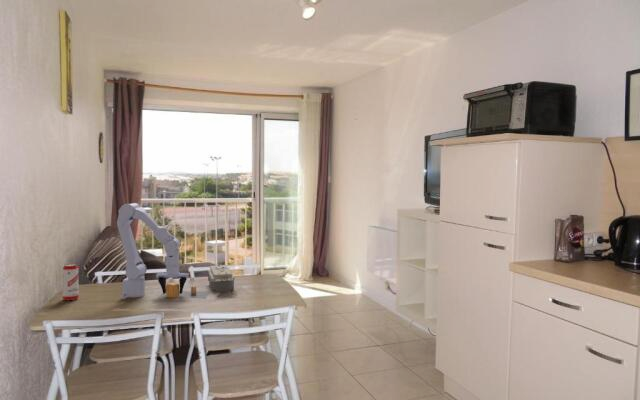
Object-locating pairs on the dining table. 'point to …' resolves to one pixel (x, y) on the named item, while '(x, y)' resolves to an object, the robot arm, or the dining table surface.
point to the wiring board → (188, 294)
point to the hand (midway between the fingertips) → (172, 293)
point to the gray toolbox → (221, 278)
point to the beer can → (70, 282)
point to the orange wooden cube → (172, 290)
